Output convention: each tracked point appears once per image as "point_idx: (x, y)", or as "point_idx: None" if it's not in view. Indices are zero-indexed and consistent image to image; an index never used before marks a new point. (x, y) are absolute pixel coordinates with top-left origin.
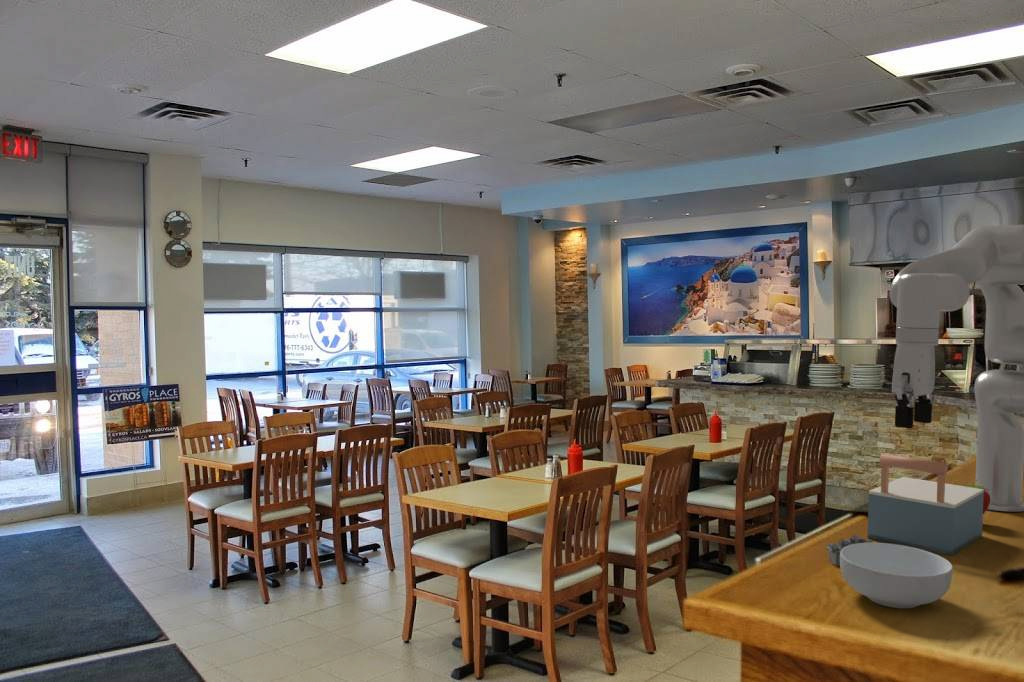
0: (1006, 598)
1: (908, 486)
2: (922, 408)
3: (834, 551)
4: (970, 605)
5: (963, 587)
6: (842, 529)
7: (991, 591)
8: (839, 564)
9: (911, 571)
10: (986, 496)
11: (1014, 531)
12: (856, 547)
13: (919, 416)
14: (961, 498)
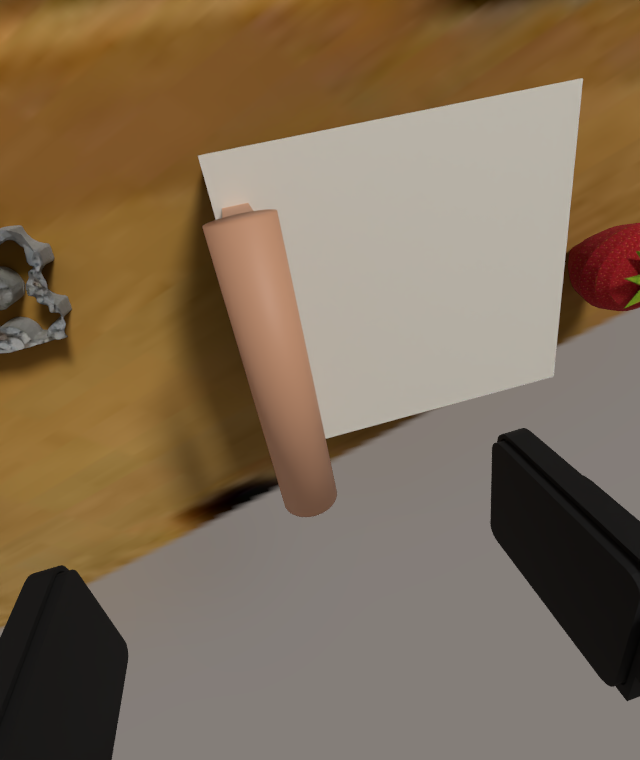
0: (115, 557)
1: (417, 212)
2: (578, 590)
3: None
4: (12, 558)
5: (89, 503)
6: (212, 24)
7: (123, 531)
8: None
9: None
10: (626, 309)
11: (562, 342)
12: None
13: (519, 507)
14: (385, 412)
